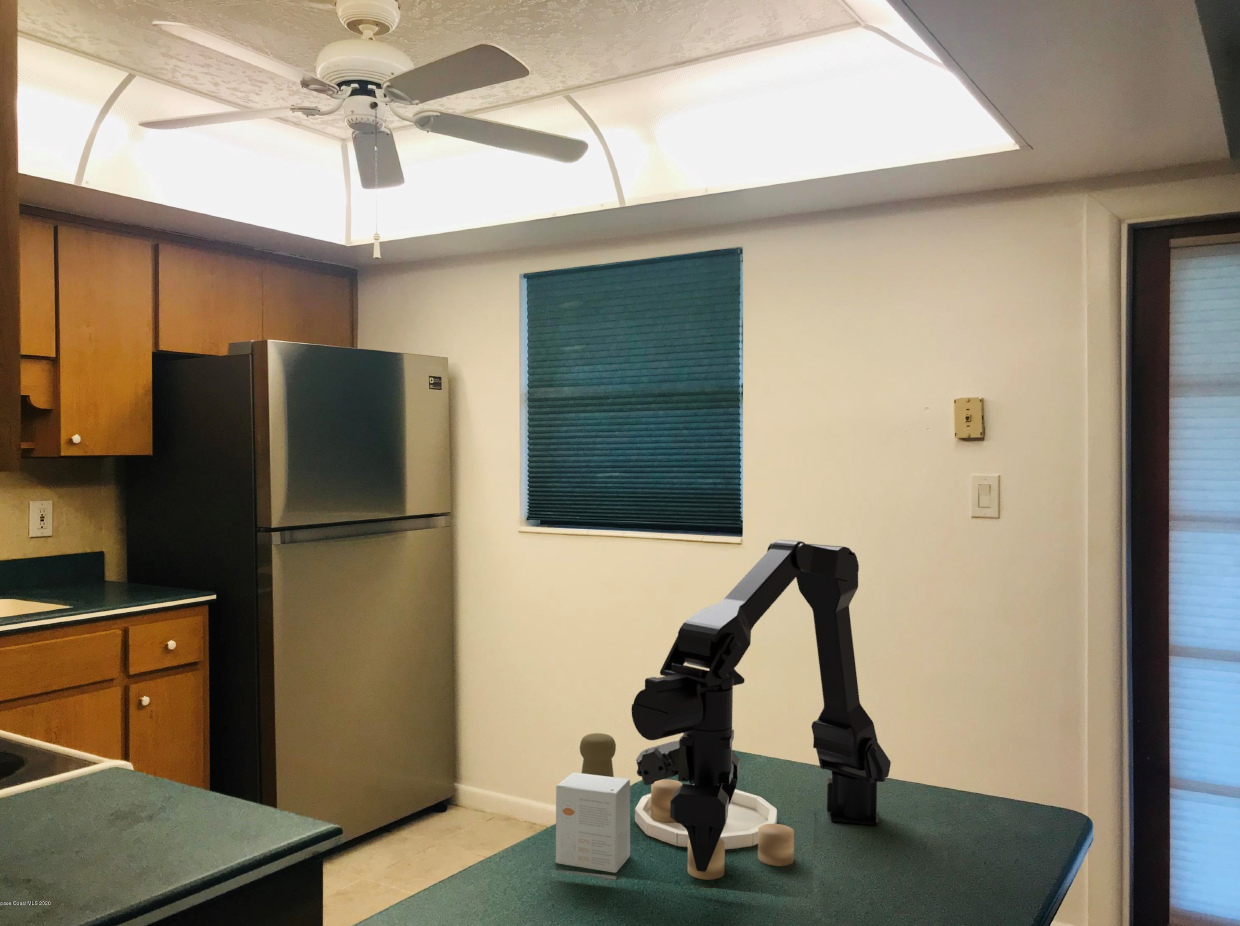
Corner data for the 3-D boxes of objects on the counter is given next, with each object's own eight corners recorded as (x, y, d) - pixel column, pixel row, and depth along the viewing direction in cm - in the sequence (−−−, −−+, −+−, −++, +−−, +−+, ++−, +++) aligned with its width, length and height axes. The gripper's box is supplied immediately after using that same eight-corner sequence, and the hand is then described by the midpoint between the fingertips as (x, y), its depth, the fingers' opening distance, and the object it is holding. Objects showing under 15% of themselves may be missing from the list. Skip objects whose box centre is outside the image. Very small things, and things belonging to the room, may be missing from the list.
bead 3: (794, 861, 116) (794, 825, 116) (793, 875, 112) (793, 838, 112) (759, 857, 117) (759, 822, 117) (756, 871, 113) (757, 835, 113)
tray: (779, 810, 133) (779, 792, 133) (771, 863, 115) (772, 842, 115) (650, 798, 138) (651, 780, 138) (623, 847, 119) (624, 827, 119)
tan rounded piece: (725, 874, 112) (726, 837, 112) (722, 889, 108) (722, 851, 108) (690, 870, 113) (690, 833, 113) (684, 885, 108) (685, 847, 109)
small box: (630, 863, 115) (632, 778, 115) (615, 881, 109) (617, 792, 109) (571, 853, 117) (572, 770, 117) (553, 870, 112) (555, 784, 112)
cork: (612, 821, 128) (614, 742, 128) (571, 817, 129) (572, 739, 129) (621, 806, 134) (622, 730, 134) (581, 802, 135) (582, 727, 135)
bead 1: (684, 812, 129) (685, 780, 129) (679, 824, 125) (680, 791, 125) (653, 809, 130) (654, 777, 130) (648, 821, 126) (648, 788, 126)
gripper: (656, 701, 121) (654, 820, 121) (626, 741, 103) (624, 880, 103) (740, 707, 119) (739, 828, 119) (725, 749, 101) (723, 892, 100)
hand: (706, 854), depth 110 cm, fingers open, 9 cm apart
